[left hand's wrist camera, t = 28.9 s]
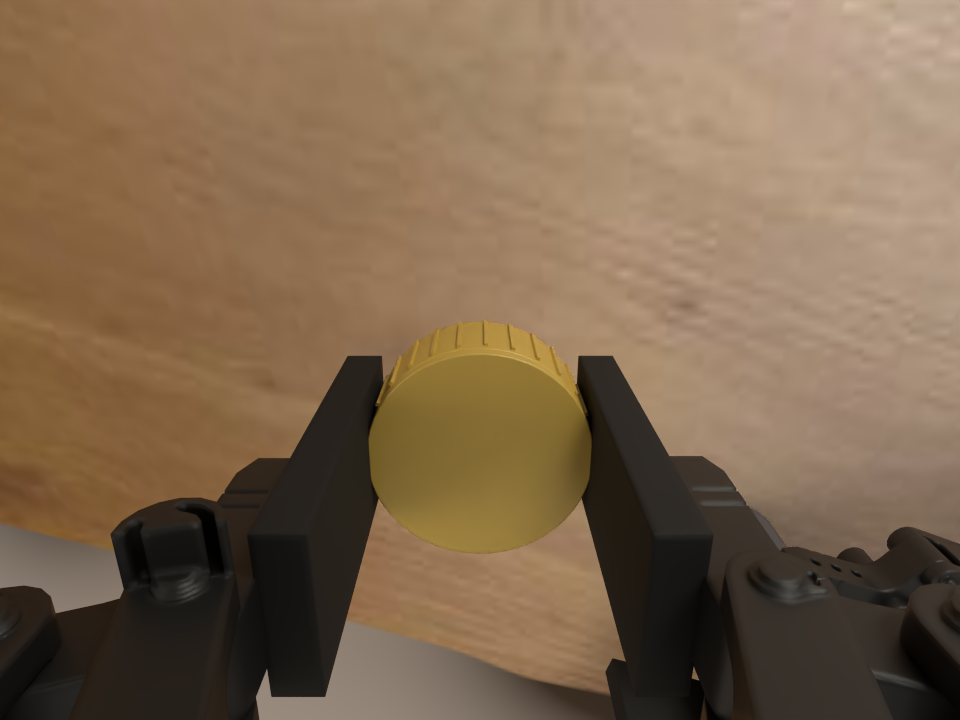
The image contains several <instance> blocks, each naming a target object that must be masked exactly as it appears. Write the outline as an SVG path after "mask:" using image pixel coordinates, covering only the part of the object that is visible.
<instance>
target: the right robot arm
mask: <svg viewBox="0 0 960 720" xmlns="http://www.w3.org/2000/svg"><path fill="white" fill-rule="evenodd" d="M887 547H888V548H889V550H890V551H888V552H887V553H886V554H885V555H883V556H882V557H881V558H879V559H878V560H876V561H874V562H873V561H872V560H871V558H870V557H869V556H868V555H867V554H866V553H865V552H864V550H862V549H860V548H849V549H846V550H844V551H843V552H841V553H840V554H839V555H838V557H837V558H834V557H831V556H827V555H824V554H823V555H822V554H821V553H817V552H814V551H813V552H812V551H810V550H807V549H803V548H800V547H785V548H782V549H781V551H780V552H784V553H788V554H792V555H794V556H796V557H798V558H800V559H803V560H805V561H807V562H809V563H811V564H812V565H814V566H815V567H816V568H818V569H819V570H820V571H822V572H823V573H824V574H826V575H827V577H828V578H829V579H830V581H831V582H832V584H833V585H834V586H835V588H836V589H837V592H838V594H839V595H840V596H843V597H847V598H850V599H854V600H857V601H862V602H867V603H871V604H876V605H881V606H885V607H890V608H895V609H899V610H904V611H906V608H907V605H908V601H909V598H910V594H911V593H912V592H913V591H915V590H916V589H917V588H918V587H919V586H922V585H928V584H934V583H943V584H952V585H960V544H958V543H955V542H952V541H950V540H947V539H944V538H941V537H938V536H935V535H933V534H930V533H927V532H924V531H921V530H919V529H916V528H912V527H903V528H900V529H898V530H896V531H894V532H893V533H892V534H891V535H890V536H889V538H888V540H887ZM606 676H607V681H608V685H609V690H610V694H611V699H612V703H613V708H614V712H615V717H616V720H701V714H702V707H703V701H704V695H705V693H704V691H703V688H702V686H701V683H700V681H699V680H695V679H692V680H691V686H690V693H689V697H635V694H634V690H633V686H632V683H631V679H630V675H629V672H628V668H627V664H626V662H625V661H621V660H617V659H612V660H611V662H610V664H609V666H608V668H607V670H606Z"/></svg>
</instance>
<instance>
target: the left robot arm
mask: <svg viewBox="0 0 960 720" xmlns="http://www.w3.org/2000/svg"><path fill="white" fill-rule="evenodd" d="M577 385H578V387H579V390H580V393H581V395H582V398H583V401H584V403H585V406H586V409H587V412H588V414H589V416H586V418H587V421H588V424H589V427H590V431H591V434H592V447H591V462H590V476H589V482H588V485H587V488H586V490H585V492H584V494H583V496H582V501H583V505H584V508H585V512H586V516H587V519H588V523H589V527H590V531H591V534H592V538H593V542H594V545H595V549H596V553H597V557H598V560H599V564H600V568H601V571H602V575H603V579H604V582H605V586H606V590H607V594H608V597H609V601H610V605H611V608H612V612H613V616H614V620H615V623H616V627H617V631H618V634H619V638H620V642H621V646H622V649H623V653H624V657H625V660H626V664H627V668H628V672H629V675H630V679H631V683H632V686H633V690H634V694H635V697H689V693H690V686H691V680H692V673H693V667H694V668H695V670H696V673H697V676H698V678H699V681H700V683H701V686H702V688H703V691H704V693H705V695H704V701H703V707H702V714H701V720H960V585H952V584H943V583H934V584H928V585H922V586H919V587H918V588H917V589H916V590H915V591H913V592H912V593H911V594H910V598H909V601H908V605H907V608H906V611H904V610H899V609H895V608H890V607H885V606H881V605H876V604H871V603H867V602H862V601H857V600H854V599H850V598H847V597H843V596H840V595H839V594H838V592H837V589H836V588H835V586H834V585H833V584H832V582H831V581H830V579H829V578H828V577H827V575H826V574H824V573H823V572H822V571H820V570H819V569H818V568H816V567H815V566H814V565H812V564H811V563H809V562H807V561H805V560H803V559H800V558H798V557H796V556H794V555H792V554H788V553H784V552H780V550H779V549H778V548H777V546H776V545H775V543H774V542H773V540H772V539H771V538H770V536H769V535H768V533H767V532H766V530H765V529H764V528H763V526H762V525H761V523H760V522H759V520H758V519H757V518H756V516H755V515H754V513H753V512H752V510H751V509H750V507H749V506H746V502H745V500H744V499H743V497H742V496H741V495H740V493H739V492H736V487H735V486H734V485H733V483H732V482H731V480H730V479H729V477H728V476H727V475H726V473H725V472H724V471H723V470H722V469H720V468H719V467H717V466H716V465H714V464H713V463H711V462H710V461H708V460H707V459H706V458H704V457H703V456H669V455H668V453H667V451H666V450H665V448H664V446H663V444H662V442H661V441H660V439H659V437H658V435H657V434H656V432H655V430H654V428H653V427H652V425H651V423H650V421H649V420H648V418H647V416H646V414H645V412H644V411H643V409H642V407H641V405H640V404H639V402H638V400H637V398H636V397H635V395H634V393H633V391H632V389H631V388H630V386H629V384H628V382H627V381H626V379H625V377H624V375H623V374H622V372H621V370H620V368H619V367H618V365H617V363H616V361H615V359H614V358H613V356H579V358H578V375H577ZM382 386H383V368H382V356H348V357H347V358H346V360H345V362H344V364H343V365H342V367H341V369H340V371H339V373H338V374H337V376H336V378H335V380H334V381H333V383H332V385H331V387H330V388H329V390H328V392H327V394H326V396H325V397H324V399H323V401H322V403H321V404H320V406H319V408H318V410H317V411H316V413H315V415H314V417H313V419H312V420H311V422H310V424H309V426H308V427H307V429H306V431H305V433H304V434H303V436H302V438H301V440H300V442H299V443H298V445H297V447H296V449H295V450H294V452H293V454H292V456H291V457H290V458H258V459H257V460H255V461H254V462H252V463H251V464H249V465H248V466H246V467H245V468H243V469H242V470H241V471H239V472H238V473H236V475H235V476H234V478H233V479H232V481H231V482H230V484H229V485H228V486H227V488H226V489H225V494H222V495H221V497H220V498H219V499H218V501H217V502H215V501H211V500H207V499H203V498H178V499H173V500H168V501H163V502H159V503H156V504H154V505H151V506H149V507H146V508H144V509H141V510H139V511H137V512H135V513H134V514H132V515H131V516H129V517H128V518H126V519H125V520H123V521H121V522H120V524H119V525H118V526H117V527H116V528H115V529H114V531H113V532H112V533H111V538H112V542H113V547H114V551H115V555H116V559H117V563H118V567H119V571H120V575H121V579H122V583H123V588H124V590H123V593H122V595H121V597H120V599H117V600H113V601H110V602H106V603H102V604H97V605H93V606H88V607H83V608H79V609H74V610H70V611H65V612H61V613H55V610H54V606H53V603H52V599H51V597H50V596H49V595H48V594H47V593H46V592H45V591H44V590H42V589H41V588H35V587H29V586H17V587H8V588H1V589H0V720H259V715H258V707H257V701H256V695H257V693H258V690H259V687H260V685H261V682H262V680H263V677H264V675H265V672H266V670H268V677H269V683H270V690H271V696H272V697H325V695H326V692H327V688H328V684H329V680H330V677H331V673H332V669H333V666H334V662H335V658H336V654H337V651H338V647H339V643H340V640H341V636H342V632H343V629H344V625H345V621H346V617H347V614H348V610H349V606H350V603H351V599H352V595H353V591H354V588H355V584H356V580H357V577H358V573H359V569H360V565H361V562H362V558H363V554H364V551H365V547H366V543H367V539H368V536H369V532H370V528H371V525H372V521H373V517H374V514H375V510H376V506H377V502H378V499H379V497H378V496H377V494H376V492H375V489H374V487H373V485H372V482H371V470H370V455H369V439H368V437H369V430H370V427H371V424H372V422H373V419H374V416H375V413H376V410H377V407H378V406H375V405H376V402H377V399H378V397H379V394H380V391H381V388H382Z"/></svg>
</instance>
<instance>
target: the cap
mask: <svg viewBox="0 0 960 720" xmlns="http://www.w3.org/2000/svg"><path fill="white" fill-rule="evenodd" d="M375 406H378V407H377V410H376V413H375V416H374V419H373V422H372V424H371V427H370V430H369V437H368V439H369V455H370V470H371V482H372V485H373V487H374V489H375V492H376V494H377V496H378V497H379V499H380V501H381V502H382V504H383V506H384V507H385V508H386V510H387V511H388V512H389V513H390V514H391V516H392V517H393V518H394V519H395V520H396V521H397V522H398V523H399V524H400V525H401V526H403V527H404V528H405V529H407V530H408V531H409V532H411V533H412V534H414V535H415V536H417V537H419V538H421V539H422V540H424V541H426V542H429V543H431V544H433V545H436V546H439V547H442V548H445V549H448V550H453V551H458V552H464V553H477V554H479V553H495V552H502V551H508V550H511V549H515V548H519V547H522V546H524V545H527V544H529V543H532V542H534V541H536V540H538V539H540V538H541V537H543V536H545V535H546V534H548V533H549V532H551V531H552V530H554V529H555V528H556V527H557V526H558V525H560V524H561V523H562V522H563V521H564V520H565V519H566V518H567V517H568V516H569V515H570V513H571V512H572V511H573V510H574V509H575V507H576V506H577V504H578V503H579V501H580V500H581V498H582V496H583V494H584V492H585V490H586V488H587V485H588V482H589V476H590V462H591V447H592V434H591V431H590V427H589V424H588V421H587V418H586V416H589V414H588V412H587V409H586V406H585V403H584V401H583V398H582V395H581V393H580V390H579V387H578V385H577V384H575V383H574V380H573V377H572V375H571V372H570V369H569V366H568V365H567V364H566V365H564V363H563V362H562V361H561V359H560V358H559V357H558V356H557V355H556V353H555V351H554V348H553V347H550V348H549V347H548V346H547V345H546V344H545V343H543V342H542V341H540V340H539V339H537V338H536V337H535V334H533V333H531V334H529V333H527V332H525V331H523V330H520V329H517V328H514V327H512V325H511V324H508V325H503V324H499V323H491V322H488V321H487V320H484V322H468V323H463V322H459V324H456V325H452V326H449V327H446V328H442V329H440V330H439V328H438V329H435V332H433V333H431V334H429V335H428V336H426V337H424V338H423V339H421V340H420V341H418V340H416V341H415V342H414V345H413V346H412V347H411V348H410V349H409V350H408V351H407V352H406V353H405V354H404V355H403V356H402V357H401V356H399V357H398V359H397V361H396V364H395V367H394V368H393V370H392V372H391V374H390V376H389V375H387V376H386V378H385V380H384V383H383V386H382V388H381V391H380V394H379V397H378V399H377V402H376V405H375Z"/></svg>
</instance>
